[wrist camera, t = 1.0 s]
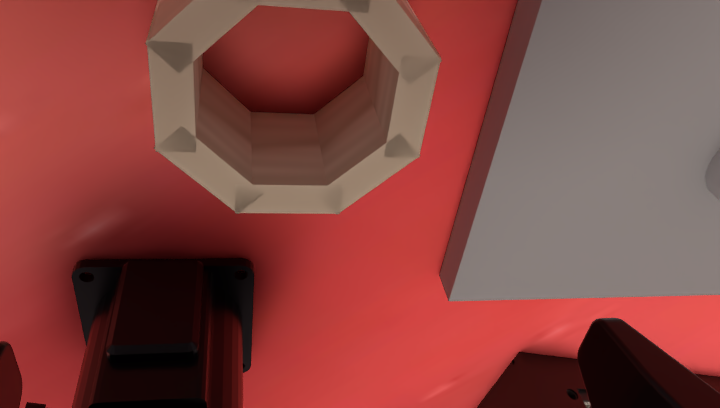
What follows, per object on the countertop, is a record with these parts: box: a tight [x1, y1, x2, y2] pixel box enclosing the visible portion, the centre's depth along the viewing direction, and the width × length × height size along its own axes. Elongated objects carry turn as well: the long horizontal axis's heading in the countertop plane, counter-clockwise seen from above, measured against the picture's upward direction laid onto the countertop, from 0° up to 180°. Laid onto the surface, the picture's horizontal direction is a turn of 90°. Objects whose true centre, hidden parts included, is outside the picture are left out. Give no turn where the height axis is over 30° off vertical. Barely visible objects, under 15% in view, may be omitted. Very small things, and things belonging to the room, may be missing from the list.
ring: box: [145, 0, 441, 214], centre depth 17 cm, size 7×7×4 cm
